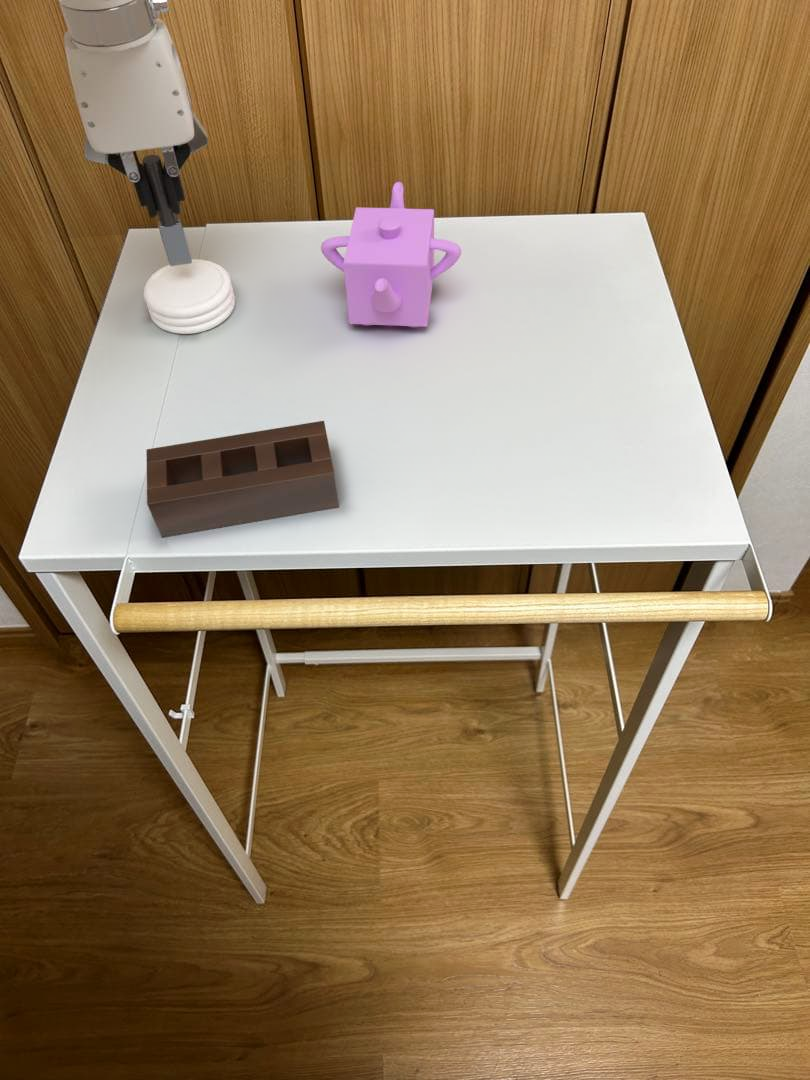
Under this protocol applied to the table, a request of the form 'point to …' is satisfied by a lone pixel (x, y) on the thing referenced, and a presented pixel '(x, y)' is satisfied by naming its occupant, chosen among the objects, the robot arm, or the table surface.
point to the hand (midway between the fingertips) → (164, 207)
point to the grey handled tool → (166, 214)
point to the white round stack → (189, 296)
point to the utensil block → (240, 479)
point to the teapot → (390, 263)
